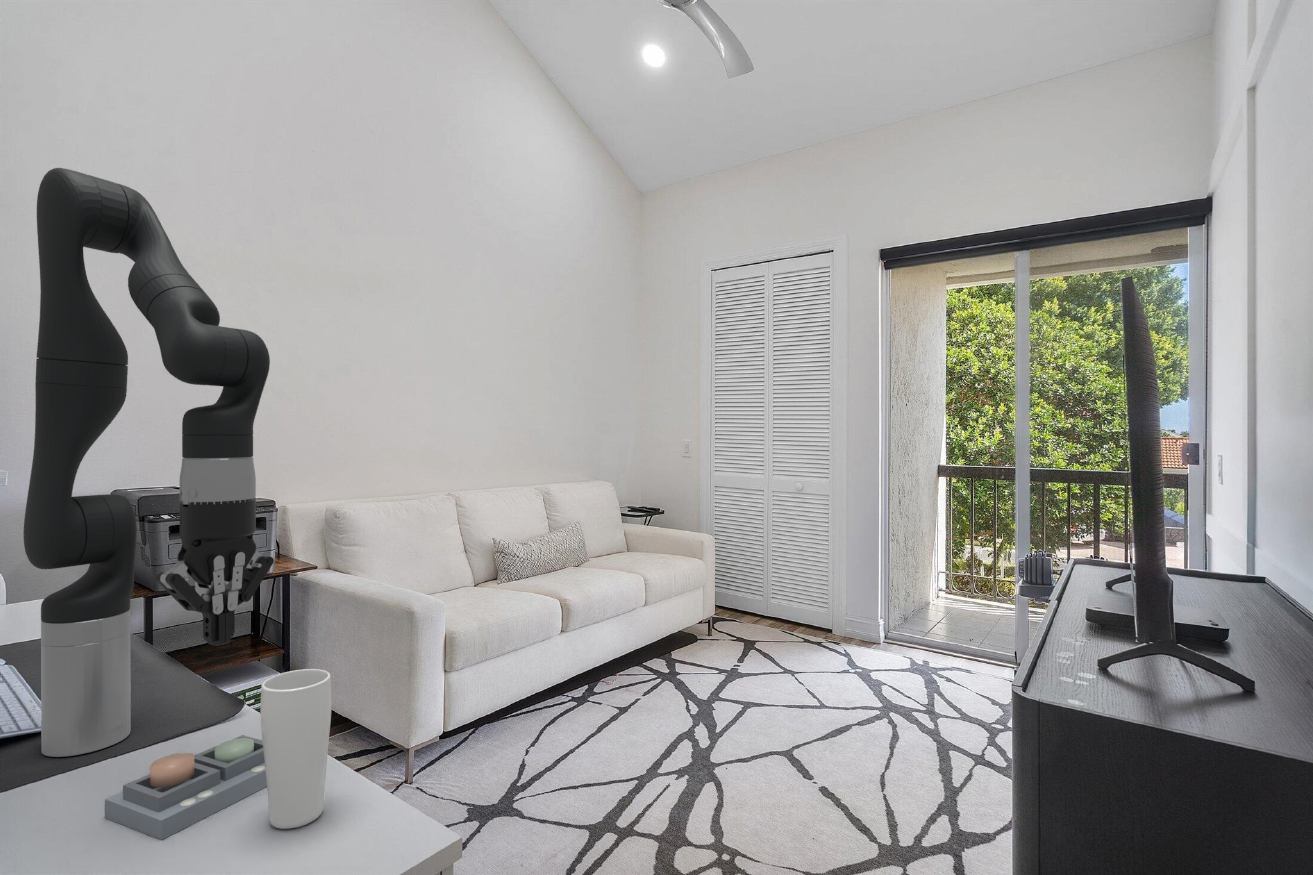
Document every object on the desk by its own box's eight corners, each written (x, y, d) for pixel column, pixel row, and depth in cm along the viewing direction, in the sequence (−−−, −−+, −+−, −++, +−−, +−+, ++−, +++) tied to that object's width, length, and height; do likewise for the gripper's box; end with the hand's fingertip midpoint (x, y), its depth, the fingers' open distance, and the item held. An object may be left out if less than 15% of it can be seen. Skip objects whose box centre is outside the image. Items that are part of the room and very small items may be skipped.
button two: (141, 782, 74) (141, 765, 74) (180, 765, 77) (180, 750, 77) (164, 790, 72) (164, 773, 72) (202, 773, 76) (202, 756, 76)
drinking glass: (302, 839, 69) (301, 693, 69) (245, 831, 70) (244, 688, 70) (345, 804, 76) (344, 670, 76) (292, 797, 77) (292, 666, 77)
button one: (206, 764, 80) (206, 749, 80) (239, 750, 84) (239, 735, 84) (228, 771, 78) (228, 755, 78) (261, 756, 82) (261, 741, 82)
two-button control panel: (104, 817, 73) (104, 785, 73) (239, 757, 87) (239, 730, 87) (161, 839, 69) (161, 805, 69) (293, 772, 83) (293, 744, 83)
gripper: (250, 490, 87) (250, 625, 87) (136, 499, 75) (137, 656, 75) (291, 492, 84) (291, 632, 84) (180, 502, 72) (180, 665, 72)
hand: (218, 643), depth 79 cm, fingers closed
